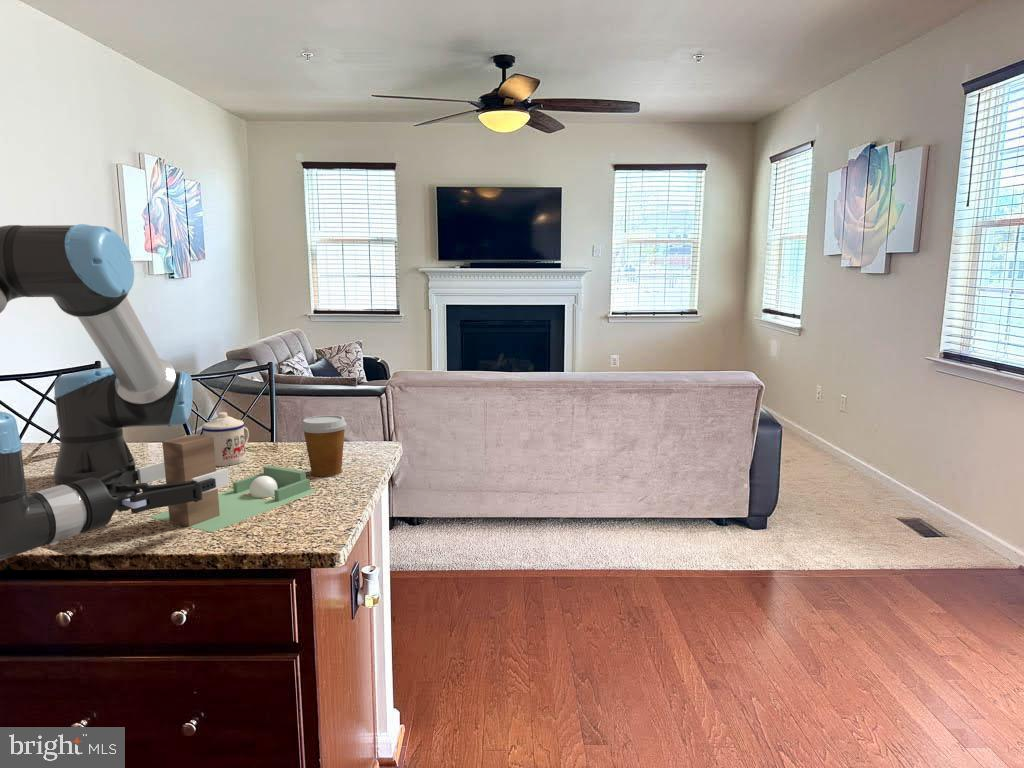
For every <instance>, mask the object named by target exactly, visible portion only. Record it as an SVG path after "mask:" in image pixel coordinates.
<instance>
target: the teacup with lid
mask: <svg viewBox="0 0 1024 768" xmlns="http://www.w3.org/2000/svg"><path fill="white" fill-rule="evenodd" d="M201 430H202V432H203V435H204V436H211V437H214V449H215V462H216V467H228V466H229V465H230V466H234V465H239V464H241V463H243V462H244V461H246V458H247V455H246V445H247V444H248V441H249V437H250V432H249V431H250V430H249V429H248V428H247V427H246V426H245V423H244V421H243V420H242V419H236V418H234V417H232V416H229V415H228V413H227V412H225V411H221V412H218V413H217V416H216V417H215V418H213V419H211V420H210V421H207V422H205V423H203V425H202V427H201Z"/></svg>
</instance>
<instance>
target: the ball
mask: <svg viewBox="0 0 1024 768" xmlns="http://www.w3.org/2000/svg"><path fill="white" fill-rule="evenodd" d="M276 489H279V487H277V483H276V481H275V480H274V479H273V478H271V477H269V476H260V477H257V478H256V479H254V480H253V482H252V483H251V485H250V492H249V494H250V497H253V498H258V499H264V498H272V497H273V496H274V497H275V494H274V490H276Z"/></svg>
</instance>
